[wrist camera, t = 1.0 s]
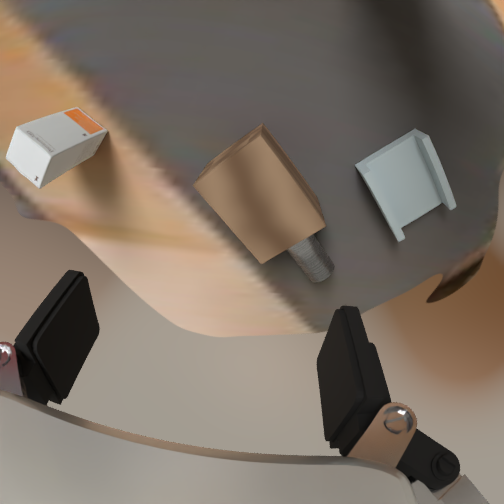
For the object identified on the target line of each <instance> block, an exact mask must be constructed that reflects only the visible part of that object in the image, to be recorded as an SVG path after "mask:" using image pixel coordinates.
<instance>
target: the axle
mask: <svg viewBox="0 0 504 504" xmlns="http://www.w3.org/2000/svg"><path fill="white" fill-rule="evenodd" d="M287 251H288V252H289V254H290V255H291V256H292V257H293V259H294V260H295V261H296V262H297V264H298V265H299V266H300V268H301V269H302V270H303V271H304V273H305V274H306V275H307V276H308V278H309V279H310V280H311V281H312V282H315V283H317V282H321V281H323V280H325V279H326V278H328V277H329V276H330V275H331V274H332V272H333V270H334V263H333V262H332V260H331V259H330V257H329V256H328V255H327V253H326V252H325V250H324V249H323V248H322V246H321V245H320V243H319V242H318V240H317V239H316V238H315V236H314V235H313V234H312V235H310V236H309V237H307V238H305V239H304V240H302V241H300V242H299V243H297V244H295V245H293V246H292V247H290V248H288V249H287Z"/></svg>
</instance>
